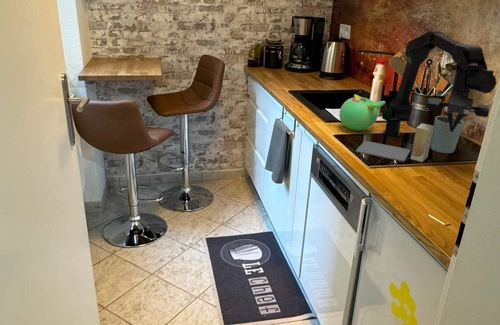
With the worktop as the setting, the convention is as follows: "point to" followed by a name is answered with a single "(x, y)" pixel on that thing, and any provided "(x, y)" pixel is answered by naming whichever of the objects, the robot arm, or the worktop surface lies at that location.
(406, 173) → the worktop surface
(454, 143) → the grey cup
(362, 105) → the green teapot
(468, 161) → the worktop surface
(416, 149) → the skincare box
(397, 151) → the mat
